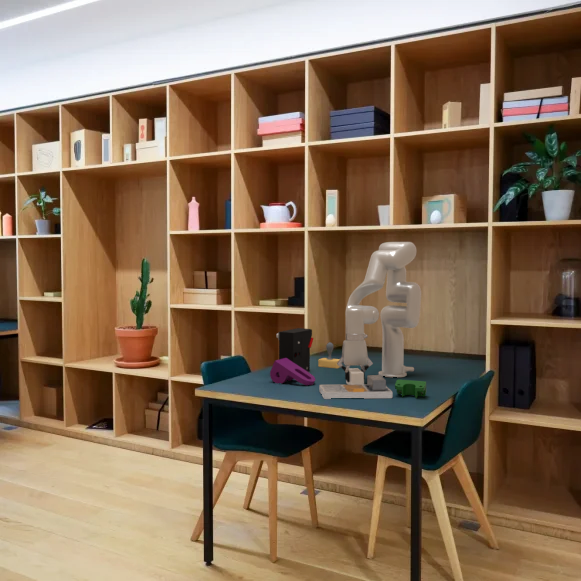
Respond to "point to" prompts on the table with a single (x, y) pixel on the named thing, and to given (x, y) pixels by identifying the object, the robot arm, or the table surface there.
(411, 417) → the table surface
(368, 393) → the grey compartment tray
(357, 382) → the cream upright block
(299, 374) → the mounting bracket
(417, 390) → the clamp
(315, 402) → the table surface
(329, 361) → the rubber stamp
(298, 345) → the electrical component
